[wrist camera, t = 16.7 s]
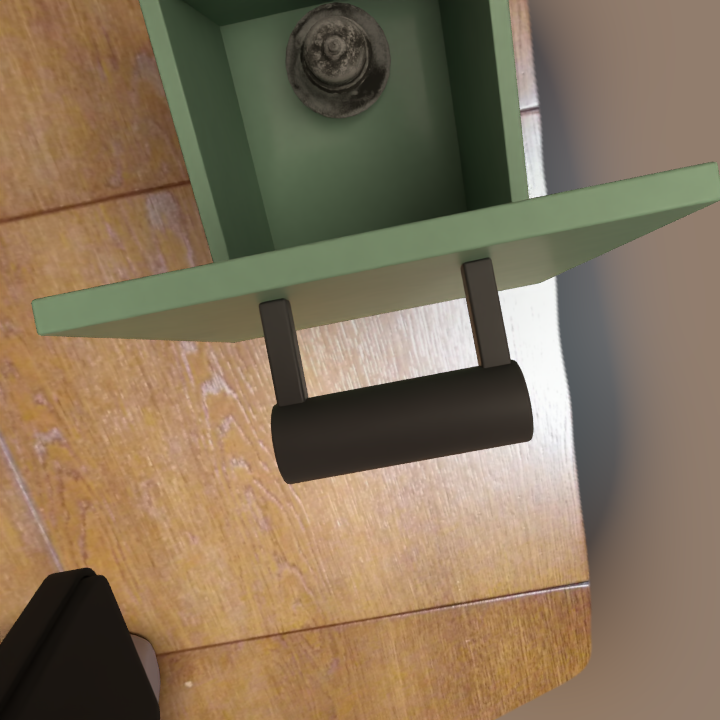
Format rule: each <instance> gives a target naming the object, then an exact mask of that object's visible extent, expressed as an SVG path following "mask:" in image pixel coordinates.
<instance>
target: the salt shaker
mask: <svg viewBox="0 0 720 720" xmlns="http://www.w3.org/2000/svg"><path fill="white" fill-rule="evenodd" d="M390 64H391V56H390V49H389V44H388V41H387V39H386V36H385V34H384V31H383V30H382V28H381V27H380V26H379V24H378V23H377V21H376V20H375V19H374V18H373V17H372V16H371V15H369V14H368V13H367V12H366V11H364V10H363V9H361V8H359V7H356V6H354V5H351V4H348V3H338V2H333V3H328V4H323V5H320V6H318V7H316V8H314V9H313V10H311V11H309V12H308V13H307V14H306V15H304V16H303V17H302V18H301V19H300V20H299V21H298V23H297V24H296V26H295V28H294V29H293V31H292V33H291V34H290V37H289V41H288V44H287V47H286V60H285V65H286V71H287V76H288V80H289V82H290V84H291V86H292V89H293V91H294V93H295V94H296V95H297V97H298V98H299V99H300V100H301V102H302V103H303V104H304V105H305V106H307V107H308V108H310V109H311V110H312V111H314V112H315V113H318V114H320V115H323V116H325V117H329V118H340V119H341V118H347V117H352V116H355V115H357V114H359V113H361V112H363V111H365V110H367V109H368V108H369V107H370V106H371V105H372V104H374V103H375V102H376V101H377V100H378V98H379V96H380V95H381V93H382V92H383V90H384V89H385V86H386V83H387V80H388V78H389V75H390Z"/></svg>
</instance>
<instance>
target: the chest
mask: <svg viewBox="0 0 720 720" xmlns="http://www.w3.org/2000/svg"><path fill="white" fill-rule="evenodd" d="M333 2H338V3H348V4H351V5H354V6H356V7H359V8H361V9H363V10H364V11H366V12H367V13H368V14H369V15H371V16H372V17H373V18H374V19H375V20H376V21H377V23H378V24H379V26H380V27H381V28H382V30H383V31H384V34H385V36H386V39H387V41H388V44H389V49H390V56H391V64H390V75H389V78H388V80H387V83H386V86H385V89H384V90H383V92H382V93H381V95H380V96H379V98H378V100H377V101H376V102H375V103H374V104H372V105H371V106H370V107H369V108H368V109H367V110H365V111H363V112H361V113H359V114H357V115H355V116H352V117H347V118H341V119H340V118H329V117H325V116H323V115H320V114H318V113H315V112H314V111H312V110H311V109H310V108H308V107H307V106H305V105H304V104H303V103H302V102H301V100H300V99H299V98H298V97H297V95H296V94H295V93H294V91H293V89H292V86H291V84H290V82H289V80H288V76H287V71H286V65H285V60H286V47H287V44H288V41H289V37H290V34H291V33H292V31H293V29H294V28H295V26H296V24H297V23H298V21H299V20H300V19H301V18H302V17H303V16H304V15H306V14H307V13H308V12H309V11H311V10H313V9H314V8H316V7H318V6H320V5H323V4H328V3H333ZM139 3H140V7H141V10H142V14H143V17H144V21H145V24H146V28H147V31H148V35H149V38H150V42H151V45H152V49H153V52H154V56H155V59H156V63H157V66H158V70H159V73H160V77H161V80H162V84H163V87H164V91H165V94H166V98H167V101H168V105H169V108H170V112H171V115H172V119H173V122H174V126H175V129H176V133H177V136H178V140H179V143H180V147H181V151H182V154H183V158H184V161H185V165H186V168H187V172H188V175H189V179H190V182H191V186H192V189H193V193H194V196H195V200H196V203H197V207H198V210H199V214H200V217H201V221H202V224H203V228H204V231H205V235H206V238H207V242H208V245H209V249H210V252H211V256H212V259H213V263H216V262H221V261H226V260H231V259H236V258H240V257H245V256H250V255H255V254H260V253H265V252H270V251H275V250H280V249H285V248H290V247H295V246H300V245H304V244H309V243H314V242H319V241H324V240H329V239H334V238H339V237H344V236H349V235H354V234H359V233H364V232H369V231H373V230H378V229H383V228H388V227H393V226H398V225H403V224H408V223H413V222H418V221H423V220H428V219H433V218H437V217H442V216H447V215H452V214H457V213H462V212H467V211H472V210H477V209H482V208H487V207H492V206H497V205H502V204H506V203H511V202H516V201H521V200H526V199H529V195H528V185H527V175H526V166H525V156H524V146H523V137H522V127H521V117H520V108H519V98H518V88H517V79H516V69H515V59H514V50H513V40H512V30H511V21H510V11H509V1H508V0H139Z"/></svg>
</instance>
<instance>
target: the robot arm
mask: <svg viewBox="0 0 720 720" xmlns="http://www.w3.org/2000/svg"><path fill="white" fill-rule="evenodd" d="M0 720H160V709H159V704H158V701H157V698H156V696H155V694H154V691H153V689H152V686H151V684H150V681H149V679H148V677H147V674H146V672H145V669H144V667H143V664H142V662H141V660H140V657H139V655H138V652H137V650H136V648H135V645H134V643H133V640H132V638H131V635H130V633H129V631H128V628H127V626H126V623H125V621H124V619H123V616H122V614H121V611H120V609H119V606H118V604H117V602H116V599H115V597H114V594H113V592H112V590H111V587H110V585H109V582H108V581H107V579H106V578H105V577H104V576H102V575H96V573H95V572H94V571H93V570H92V569H91V568H81V569H76V570H70V571H64V572H59V573H53V574H51V575H49V576H48V577H47V578H46V579H45V580H44V581H43V583H42V584H41V586H40V587H39V588H38V590H37V591H36V593H35V594H34V596H33V597H32V599H31V600H30V602H29V603H28V605H27V606H26V608H25V609H24V611H23V612H22V614H21V615H20V616H19V618H18V619H17V621H16V622H15V624H14V625H13V627H12V628H11V630H10V631H9V633H8V634H7V636H6V637H5V639H4V640H3V642H2V643H1V645H0Z"/></svg>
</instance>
